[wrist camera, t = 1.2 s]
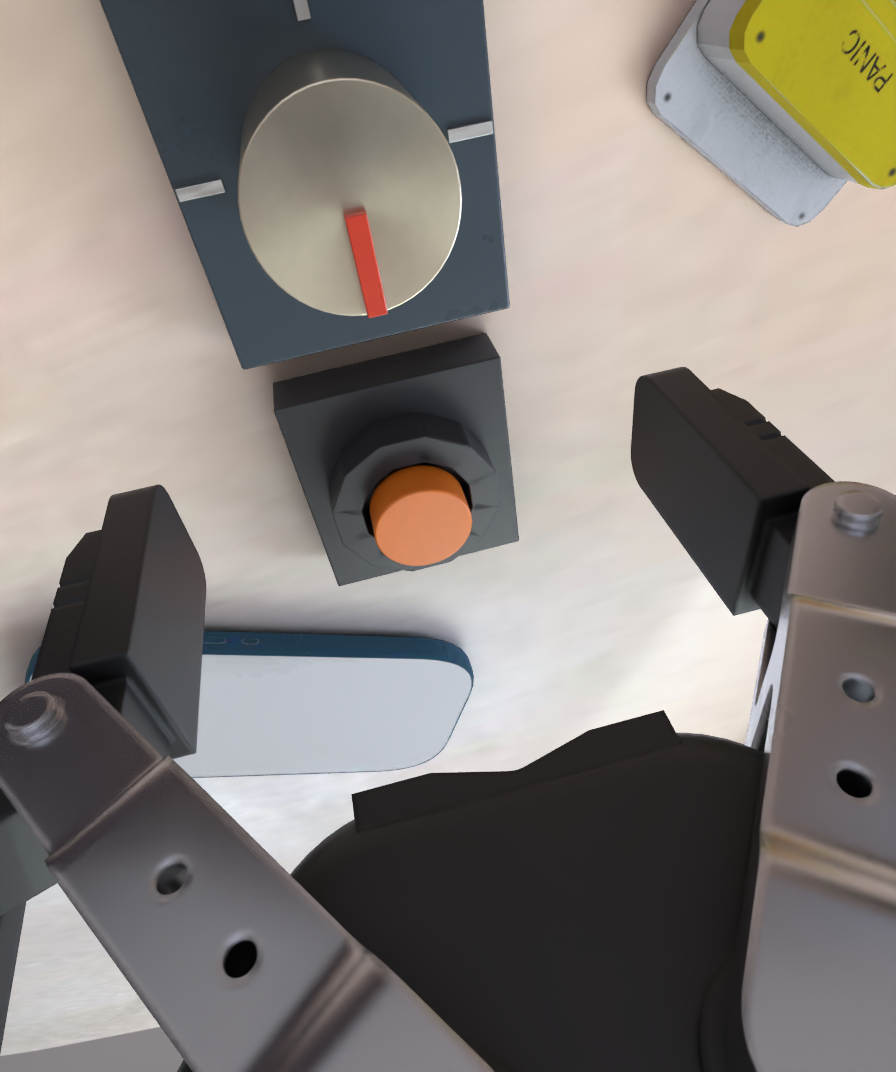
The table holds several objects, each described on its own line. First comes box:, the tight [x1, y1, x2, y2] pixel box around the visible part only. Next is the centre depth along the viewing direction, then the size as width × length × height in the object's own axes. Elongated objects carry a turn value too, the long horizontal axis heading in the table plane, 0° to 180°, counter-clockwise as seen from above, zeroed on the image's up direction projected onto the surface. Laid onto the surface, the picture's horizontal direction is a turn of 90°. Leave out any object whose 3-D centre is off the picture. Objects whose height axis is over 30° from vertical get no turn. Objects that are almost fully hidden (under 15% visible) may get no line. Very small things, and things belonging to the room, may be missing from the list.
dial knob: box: [238, 49, 462, 318], centre depth 19 cm, size 6×6×5 cm
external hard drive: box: [25, 631, 474, 778], centre depth 40 cm, size 24×12×2 cm, turn 74°
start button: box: [369, 465, 472, 566], centre depth 29 cm, size 4×4×2 cm
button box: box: [273, 333, 519, 586], centre depth 30 cm, size 10×9×4 cm
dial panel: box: [100, 0, 510, 369], centre depth 22 cm, size 12×10×3 cm
